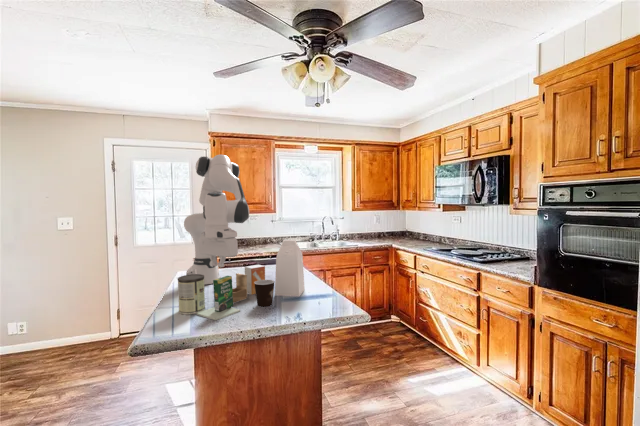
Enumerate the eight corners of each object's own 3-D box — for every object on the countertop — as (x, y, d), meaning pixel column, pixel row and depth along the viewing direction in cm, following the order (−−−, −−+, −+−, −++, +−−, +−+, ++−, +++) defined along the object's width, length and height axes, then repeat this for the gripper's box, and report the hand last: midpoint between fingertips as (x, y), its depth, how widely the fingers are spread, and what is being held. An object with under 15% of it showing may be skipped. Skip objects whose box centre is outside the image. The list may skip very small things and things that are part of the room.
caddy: (217, 302, 141) (217, 278, 141) (238, 296, 151) (237, 273, 151) (227, 305, 138) (226, 280, 137) (247, 298, 147) (246, 274, 147)
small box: (251, 295, 152) (251, 268, 152) (244, 292, 157) (244, 266, 156) (265, 291, 158) (265, 265, 157) (258, 289, 162) (258, 264, 162)
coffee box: (218, 312, 127) (217, 280, 126) (213, 311, 128) (212, 279, 128) (233, 306, 134) (232, 275, 133) (228, 305, 135) (227, 275, 135)
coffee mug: (262, 309, 132) (262, 285, 131) (250, 305, 137) (250, 282, 137) (284, 302, 140) (283, 280, 140) (271, 298, 146) (271, 277, 146)
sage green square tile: (196, 314, 127) (196, 313, 127) (221, 306, 137) (221, 304, 137) (215, 320, 120) (215, 319, 120) (240, 311, 130) (240, 309, 130)
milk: (304, 289, 161) (303, 238, 160) (299, 296, 149) (298, 241, 149) (281, 288, 163) (281, 238, 162) (274, 295, 152) (273, 241, 151)
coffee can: (182, 307, 136) (181, 274, 135) (207, 305, 138) (206, 273, 137) (175, 315, 126) (174, 280, 125) (202, 313, 128) (201, 279, 127)
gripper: (194, 232, 130) (195, 265, 131) (227, 234, 119) (228, 270, 119) (207, 230, 136) (208, 262, 136) (240, 232, 124) (241, 267, 125)
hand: (217, 266), depth 128 cm, fingers open, 2 cm apart
